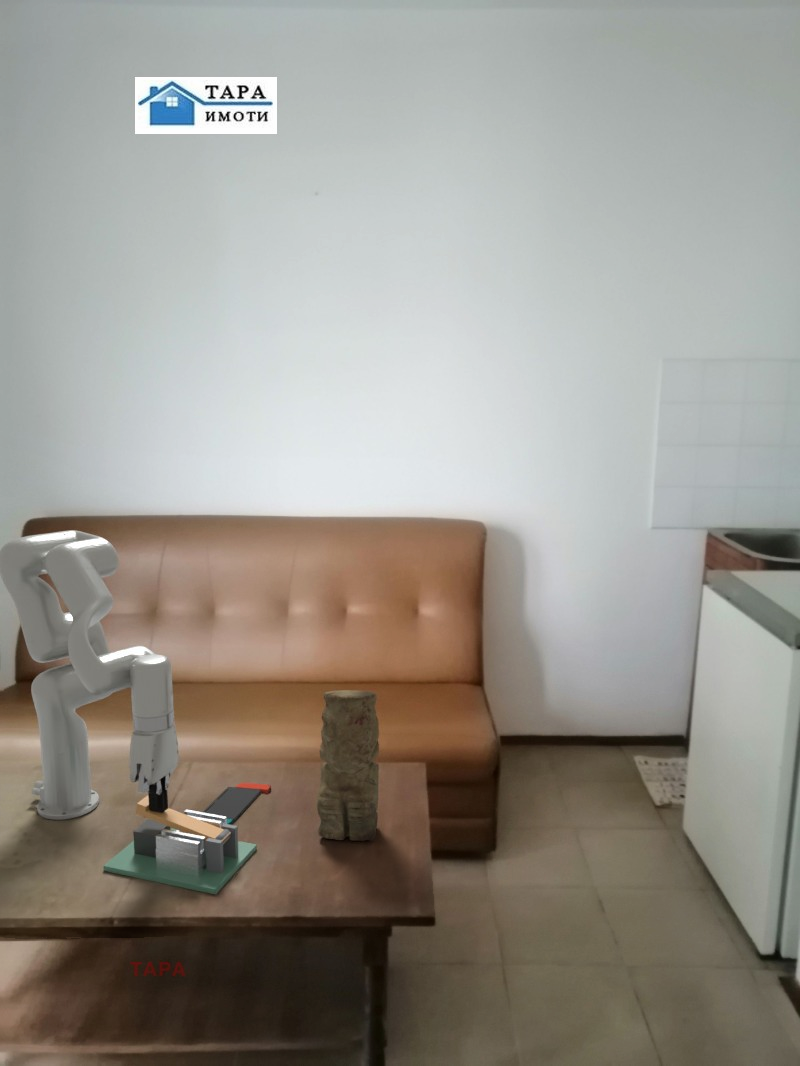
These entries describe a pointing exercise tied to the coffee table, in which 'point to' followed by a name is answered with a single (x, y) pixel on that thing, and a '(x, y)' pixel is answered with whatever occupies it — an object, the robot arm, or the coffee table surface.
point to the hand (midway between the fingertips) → (158, 809)
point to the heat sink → (185, 847)
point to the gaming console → (236, 800)
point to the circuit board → (220, 869)
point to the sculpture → (349, 766)
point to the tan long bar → (182, 822)
